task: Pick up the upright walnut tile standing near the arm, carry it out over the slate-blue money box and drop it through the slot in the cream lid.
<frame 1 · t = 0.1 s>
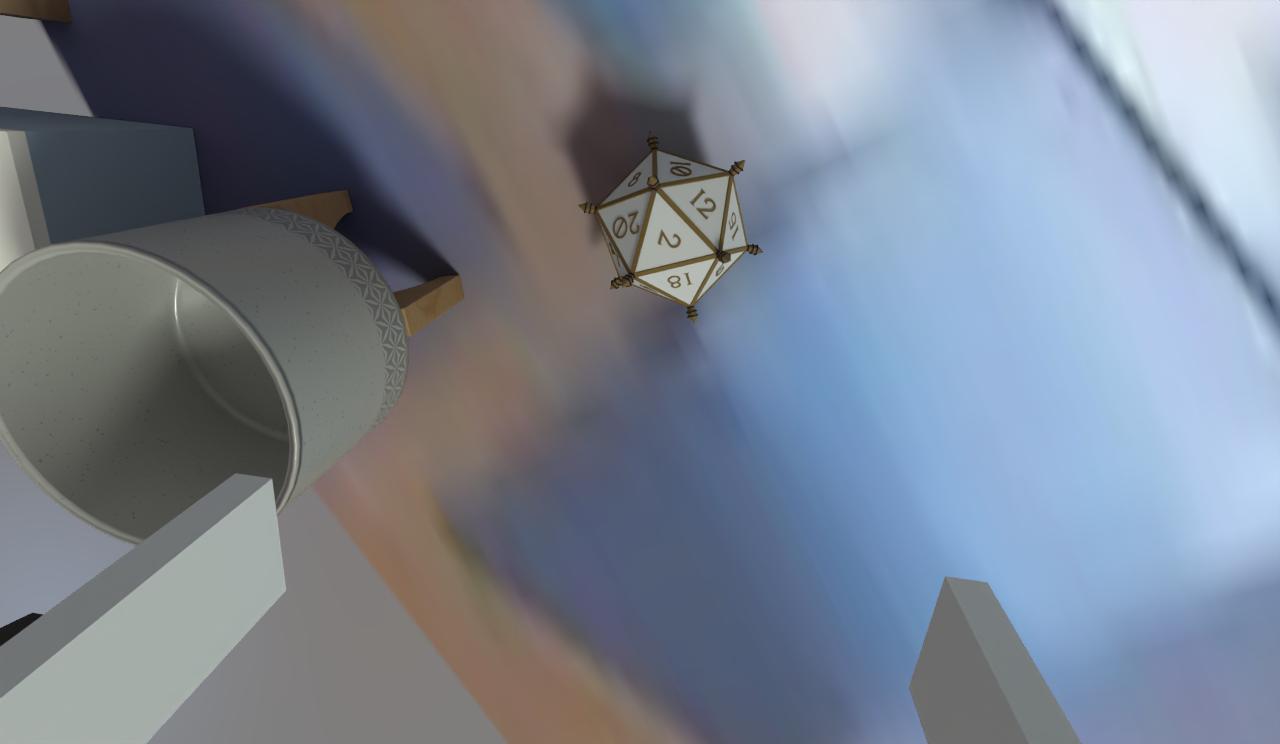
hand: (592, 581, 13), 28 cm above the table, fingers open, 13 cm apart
coin box: (90, 231, 42), on the table
planter: (366, 295, 42), on the table
game die: (677, 217, 38), on the table
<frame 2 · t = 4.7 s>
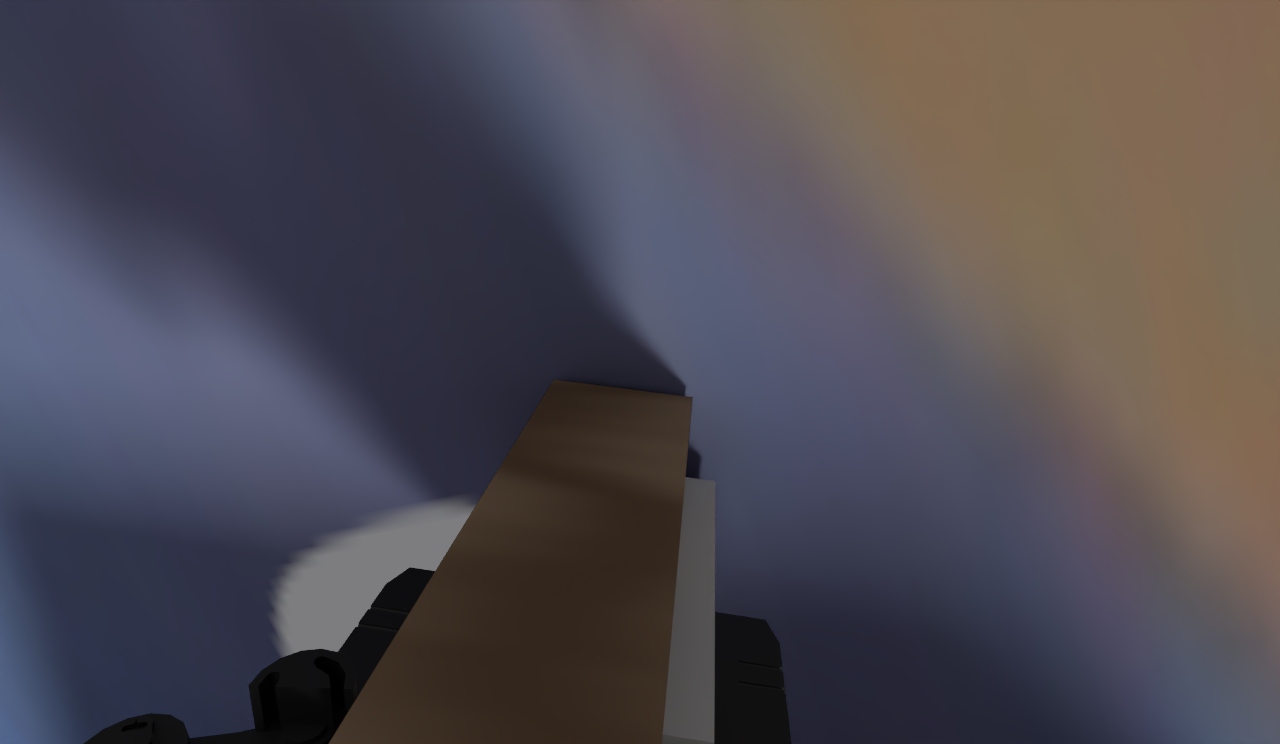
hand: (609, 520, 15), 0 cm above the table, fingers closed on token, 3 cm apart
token: (612, 507, 15), on the table, touching gripper
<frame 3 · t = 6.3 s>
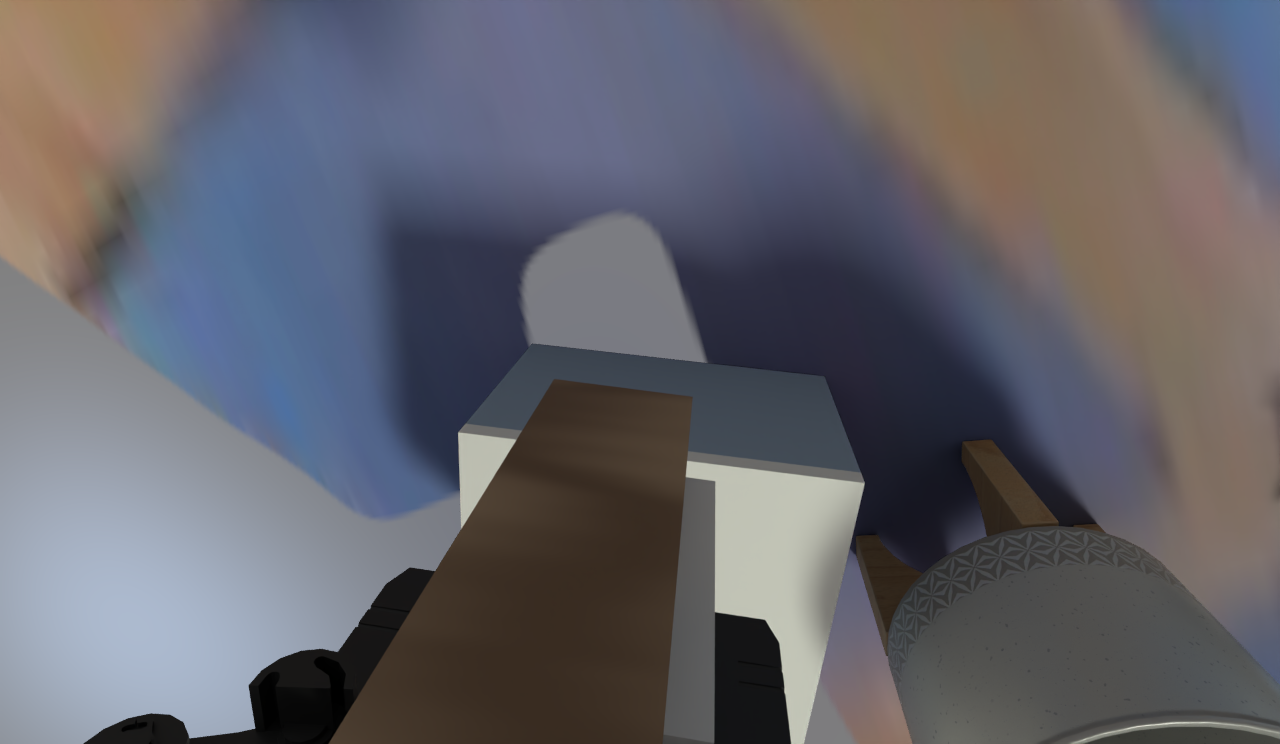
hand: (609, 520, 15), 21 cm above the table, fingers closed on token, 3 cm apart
coin box: (664, 471, 39), on the table
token: (612, 506, 15), point 21 cm above the table, touching gripper
planter: (971, 538, 38), on the table
when the fingers open (13 cm above the table, at t = 8.0 s): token drops 11 cm, resting on coin box.
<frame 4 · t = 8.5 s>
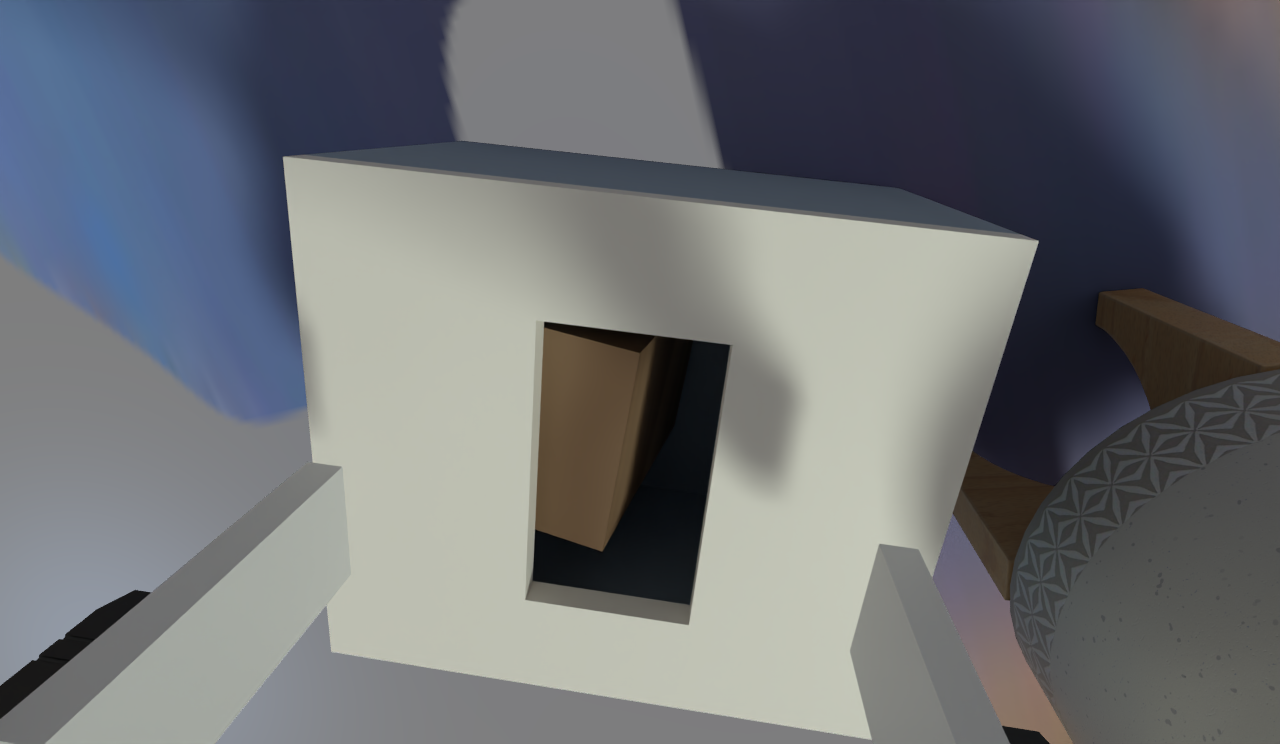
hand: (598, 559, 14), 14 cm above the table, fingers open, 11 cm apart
coin box: (656, 344, 27), on the table
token: (652, 347, 26), point 1 cm above the table, tilted 10°, touching coin box
planter: (1097, 446, 26), on the table
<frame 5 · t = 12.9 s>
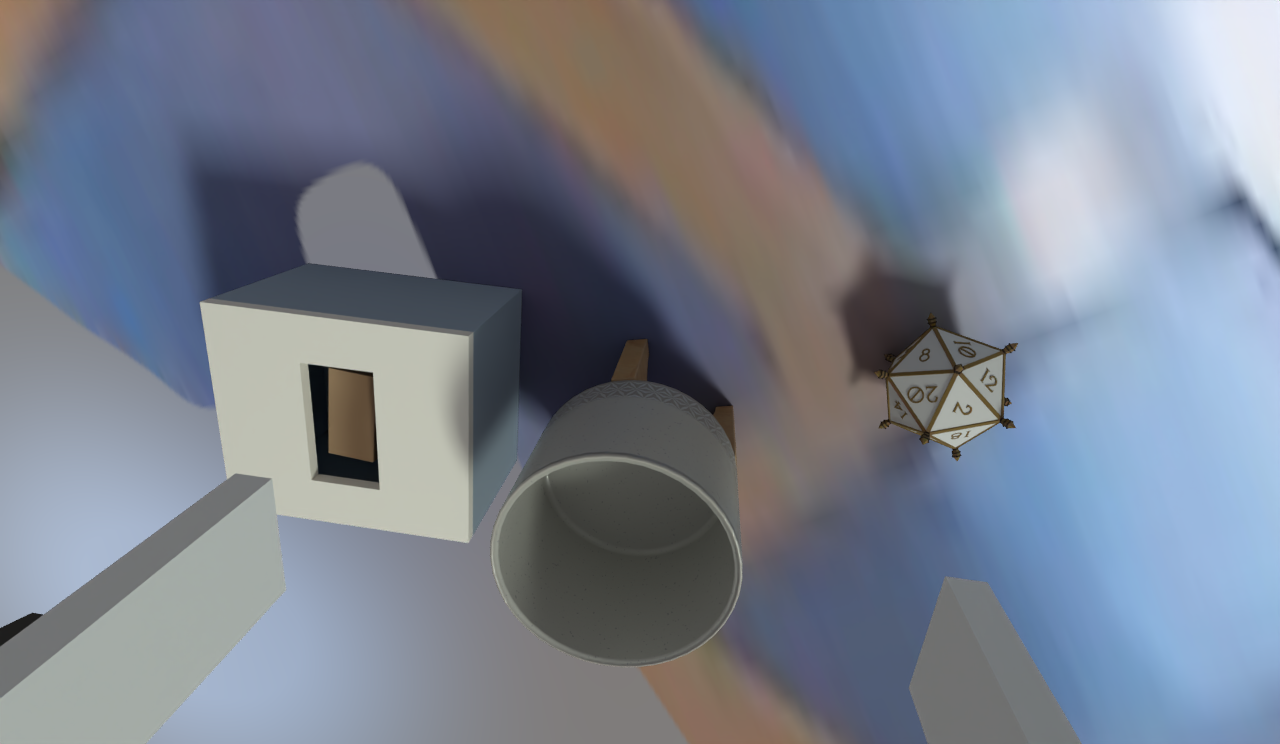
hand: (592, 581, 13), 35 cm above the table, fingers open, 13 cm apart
coin box: (416, 365, 50), on the table
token: (412, 366, 50), point 1 cm above the table, touching coin box
planter: (647, 419, 50), on the table
game die: (925, 365, 46), on the table
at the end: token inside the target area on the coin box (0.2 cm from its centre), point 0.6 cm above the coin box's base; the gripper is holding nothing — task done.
